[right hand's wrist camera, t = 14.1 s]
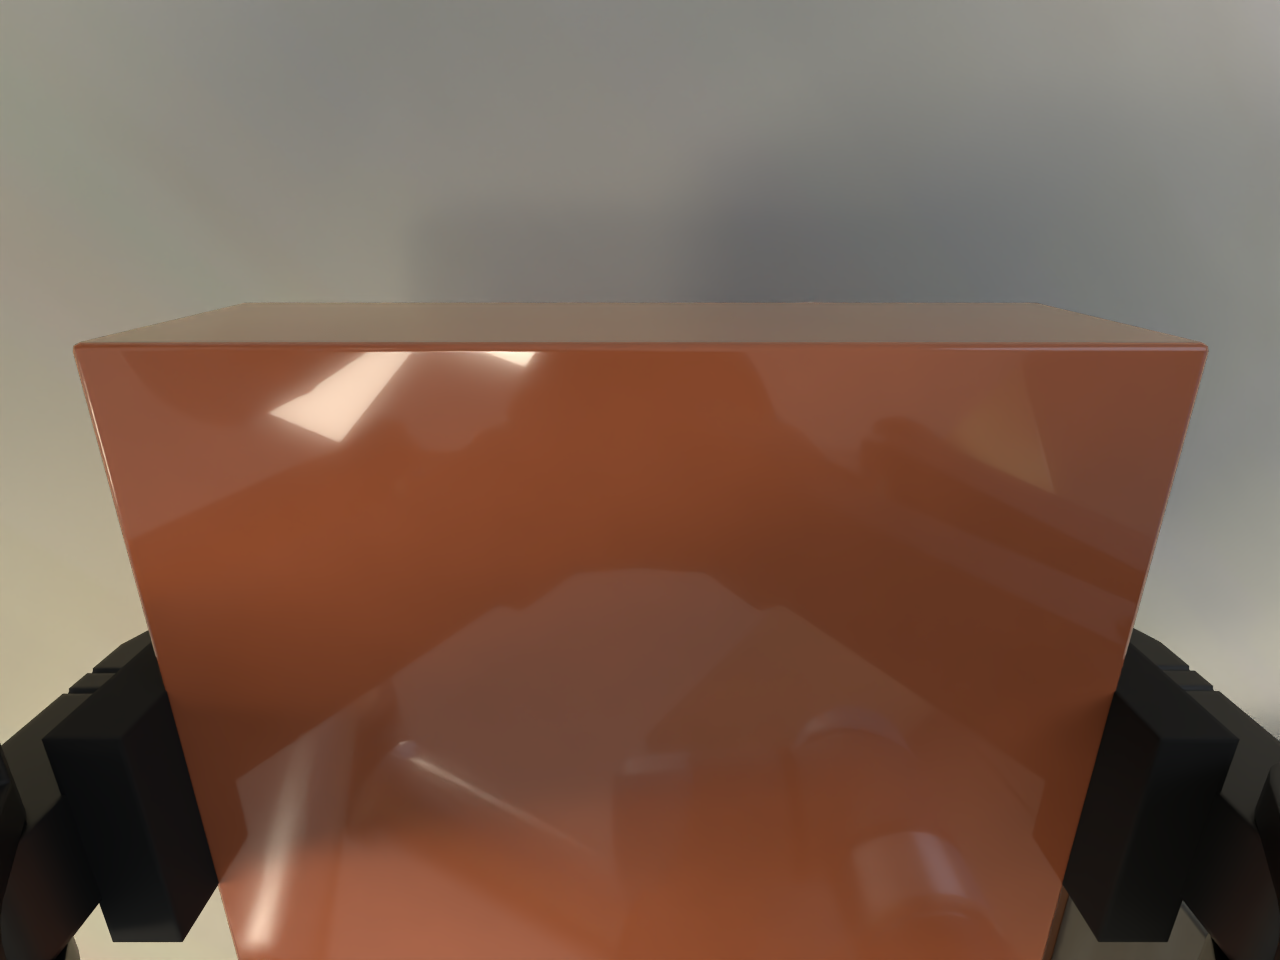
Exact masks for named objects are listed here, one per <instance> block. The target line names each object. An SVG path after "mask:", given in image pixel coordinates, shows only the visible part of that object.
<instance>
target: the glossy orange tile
mask: <svg viewBox="0 0 1280 960" xmlns="http://www.w3.org/2000/svg"><path fill="white" fill-rule="evenodd" d="M1208 352H1209V350H1208V346H1207V345H1206V344H1204V343H1202V342H1199V341H1194V340H1190V339H1186V338H1182V337H1178V336H1173V335H1169V334H1165V333H1161V332H1157V331H1152V330H1148V329H1144V328H1140V327H1136V326H1131V325H1127V324H1123V323H1119V322H1115V321H1110V320H1106V319H1102V318H1098V317H1094V316H1089V315H1085V314H1081V313H1077V312H1072V311H1068V310H1064V309H1060V308H1056V307H1051V306H1047V305H1043V304H1039V303H242V304H238V305H233V306H229V307H225V308H221V309H217V310H212V311H208V312H204V313H200V314H196V315H191V316H187V317H183V318H179V319H175V320H170V321H166V322H162V323H158V324H154V325H149V326H145V327H141V328H137V329H133V330H128V331H124V332H120V333H116V334H112V335H107V336H103V337H99V338H95V339H91V340H86V341H82V342H79V343H77V344H75V345H74V346H73V354H74V358H75V361H76V365H77V369H78V372H79V376H80V380H81V383H82V387H83V391H84V394H85V398H86V402H87V405H88V409H89V413H90V416H91V420H92V424H93V428H94V431H95V435H96V439H97V442H98V446H99V450H100V453H101V457H102V461H103V464H104V468H105V472H106V475H107V479H108V483H109V486H110V490H111V494H112V497H113V501H114V505H115V508H116V512H117V516H118V520H119V523H120V527H121V531H122V534H123V538H124V542H125V545H126V549H127V553H128V556H129V560H130V564H131V567H132V571H133V575H134V578H135V582H136V586H137V589H138V593H139V597H140V601H141V604H142V608H143V612H144V615H145V619H146V623H147V626H148V630H149V634H150V637H151V641H152V645H153V648H154V652H155V656H156V659H157V663H158V667H159V670H160V674H161V678H162V681H163V685H164V689H165V691H167V694H168V698H169V701H170V705H171V709H172V713H173V716H174V720H175V724H176V727H177V731H178V735H179V738H180V742H181V746H182V749H183V753H184V757H185V761H186V764H187V768H188V772H189V775H190V779H191V783H192V786H193V790H194V794H195V797H196V801H197V805H198V809H199V812H200V816H201V820H202V823H203V827H204V831H205V834H206V838H207V842H208V845H209V849H210V853H211V857H212V860H213V864H214V868H215V871H216V875H217V879H218V882H219V884H218V888H219V891H220V895H221V899H222V902H223V906H224V910H225V913H226V917H227V921H228V924H229V928H230V932H231V935H232V939H233V943H234V946H235V950H236V954H237V958H238V960H1043V957H1044V954H1045V950H1046V946H1047V943H1048V939H1049V935H1050V932H1051V928H1052V924H1053V921H1054V917H1055V913H1056V910H1057V906H1058V902H1059V899H1060V895H1061V891H1062V888H1063V884H1062V882H1063V879H1064V875H1065V871H1066V868H1067V864H1068V860H1069V857H1070V853H1071V849H1072V846H1073V842H1074V838H1075V835H1076V831H1077V827H1078V824H1079V820H1080V816H1081V812H1082V809H1083V805H1084V801H1085V798H1086V794H1087V790H1088V787H1089V783H1090V779H1091V776H1092V772H1093V768H1094V765H1095V761H1096V757H1097V754H1098V750H1099V746H1100V743H1101V739H1102V735H1103V731H1104V728H1105V724H1106V720H1107V717H1108V713H1109V709H1110V706H1111V702H1112V698H1113V695H1114V692H1115V691H1116V690H1117V686H1118V682H1119V679H1120V675H1121V671H1122V668H1123V664H1124V660H1125V657H1126V653H1127V649H1128V645H1129V642H1130V638H1131V634H1132V631H1133V627H1134V623H1135V620H1136V616H1137V612H1138V609H1139V605H1140V601H1141V598H1142V594H1143V590H1144V587H1145V583H1146V579H1147V576H1148V572H1149V568H1150V565H1151V561H1152V557H1153V554H1154V550H1155V546H1156V543H1157V539H1158V535H1159V532H1160V528H1161V524H1162V521H1163V517H1164V513H1165V510H1166V506H1167V502H1168V499H1169V495H1170V491H1171V488H1172V484H1173V480H1174V477H1175V473H1176V469H1177V466H1178V462H1179V458H1180V455H1181V451H1182V447H1183V444H1184V440H1185V436H1186V433H1187V429H1188V425H1189V422H1190V418H1191V414H1192V411H1193V407H1194V403H1195V400H1196V396H1197V392H1198V389H1199V385H1200V381H1201V378H1202V374H1203V370H1204V367H1205V363H1206V359H1207V356H1208Z"/></svg>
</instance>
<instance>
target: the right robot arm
mask: <svg viewBox="0 0 1280 960" xmlns="http://www.w3.org/2000/svg"><path fill="white" fill-rule="evenodd" d="M218 884H219V882H218V879H217V875H216V871H215V868H214V864H213V860H212V857H211V853H210V849H209V845H208V842H207V838H206V834H205V831H204V827H203V823H202V820H201V816H200V812H199V809H198V805H197V801H196V797H195V794H194V790H193V786H192V783H191V779H190V775H189V772H188V768H187V764H186V761H185V757H184V753H183V749H182V746H181V742H180V738H179V735H178V731H177V727H176V724H175V720H174V716H173V713H172V709H171V705H170V701H169V698H168V694H167V691H165V689H164V685H163V681H162V678H161V674H160V670H159V667H158V663H157V659H156V656H155V652H154V648H153V645H152V641H151V637H150V634H149V630H148V631H146V632H144V633H142V634H140V635H139V636H137V637H135V638H133V639H131V640H129V641H127V642H125V643H123V644H122V645H120V646H119V647H118V648H117V649H115V650H114V651H113V652H112V653H111V654H110V655H108V656H107V657H106V658H105V659H104V660H102V661H101V662H100V663H99V664H98V665H96V666H95V667H94V668H93V672H92V673H87V674H86V675H85V676H83V677H82V678H81V679H80V680H79V681H77V682H76V683H75V684H74V685H73V686H72V687H70V688H69V693H68V694H62V695H61V696H60V697H58V698H57V699H56V700H55V701H54V702H53V703H51V704H50V705H49V706H48V707H47V708H45V709H44V710H43V711H42V712H41V713H40V714H38V715H37V716H36V717H35V718H34V719H32V720H31V721H30V722H29V723H28V724H26V725H25V726H24V727H23V728H22V729H21V730H19V731H18V732H17V733H16V734H15V735H13V736H12V737H11V738H10V739H9V740H7V741H6V742H5V743H4V744H3V745H2V746H1V744H0V960H80V956H79V950H78V947H77V945H76V942H75V939H74V937H73V936H74V935H75V933H76V932H77V931H78V929H79V928H80V927H81V926H82V924H83V923H84V922H85V920H86V919H87V918H88V917H89V915H90V914H91V913H92V911H93V910H94V909H95V908H96V906H97V905H98V904H100V906H101V909H102V912H103V915H104V918H105V920H106V923H107V926H108V929H109V932H110V935H111V937H112V940H113V942H183V940H184V939H185V937H186V936H187V934H188V932H189V931H190V929H191V927H192V926H193V924H194V923H195V921H196V919H197V918H198V916H199V915H200V913H201V911H202V910H203V908H204V907H205V905H206V903H207V902H208V900H209V899H210V897H211V895H212V894H213V892H214V891H215V889H216V887H217V886H218ZM1062 884H1063V886H1064V888H1065V889H1066V891H1067V892H1068V894H1069V896H1070V897H1071V899H1072V901H1073V902H1074V904H1075V905H1076V907H1077V909H1078V910H1079V912H1080V913H1081V915H1082V917H1083V918H1084V920H1085V921H1086V923H1087V925H1088V926H1089V928H1090V929H1091V931H1092V933H1093V934H1094V936H1095V937H1096V939H1097V941H1098V942H1168V940H1169V937H1170V935H1171V932H1172V929H1173V926H1174V923H1175V921H1176V918H1177V915H1178V912H1179V909H1180V906H1181V904H1182V901H1184V902H1185V904H1186V905H1187V906H1188V908H1189V909H1190V910H1191V911H1192V913H1193V914H1194V915H1195V916H1196V918H1197V919H1198V920H1199V922H1200V923H1201V924H1202V925H1203V927H1204V928H1205V929H1206V931H1207V932H1208V934H1207V937H1206V939H1205V942H1204V945H1203V947H1202V950H1201V952H1200V955H1199V958H1198V960H1280V742H1279V741H1278V740H1277V739H1276V738H1275V737H1273V736H1272V735H1271V734H1270V733H1269V732H1267V731H1266V730H1265V729H1264V728H1263V727H1261V726H1260V725H1259V724H1258V723H1257V722H1255V721H1254V720H1253V719H1252V718H1251V717H1249V716H1248V715H1247V714H1246V713H1245V712H1243V711H1242V710H1241V709H1240V708H1239V707H1237V706H1236V705H1235V704H1234V703H1233V702H1231V701H1230V700H1229V699H1228V698H1227V697H1225V696H1224V695H1223V694H1222V693H1221V692H1220V691H1214V690H1213V686H1212V685H1211V684H1210V683H1209V682H1208V681H1206V680H1205V679H1204V678H1203V677H1202V676H1200V675H1199V674H1198V673H1197V672H1196V671H1190V670H1189V666H1188V665H1187V664H1186V663H1185V662H1184V661H1182V660H1181V659H1180V658H1179V657H1178V656H1176V655H1175V654H1174V653H1173V652H1172V651H1170V650H1169V649H1168V648H1167V647H1166V646H1165V645H1163V644H1162V643H1161V642H1159V641H1157V640H1155V639H1153V638H1152V637H1150V636H1148V635H1146V634H1144V633H1142V632H1140V631H1138V630H1136V629H1134V628H1133V631H1132V634H1131V638H1130V642H1129V645H1128V649H1127V653H1126V657H1125V660H1124V664H1123V668H1122V671H1121V675H1120V679H1119V682H1118V686H1117V690H1116V691H1115V692H1114V695H1113V698H1112V702H1111V706H1110V709H1109V713H1108V717H1107V720H1106V724H1105V728H1104V731H1103V735H1102V739H1101V743H1100V746H1099V750H1098V754H1097V757H1096V761H1095V765H1094V768H1093V772H1092V776H1091V779H1090V783H1089V787H1088V790H1087V794H1086V798H1085V801H1084V805H1083V809H1082V812H1081V816H1080V820H1079V824H1078V827H1077V831H1076V835H1075V838H1074V842H1073V846H1072V849H1071V853H1070V857H1069V860H1068V864H1067V868H1066V871H1065V875H1064V879H1063V882H1062Z"/></svg>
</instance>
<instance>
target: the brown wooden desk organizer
mask: <svg viewBox="0 0 1280 960" xmlns="http://www.w3.org/2000/svg"><path fill="white" fill-rule="evenodd" d="M1207 934H1208V932H1207V931H1206V929H1205V928H1204V927H1203V925H1202V924H1201V923H1200V922H1199V920H1198V919H1197V918H1196V916H1195V915H1194V914H1193V913H1192V911H1191V910H1190V909H1189V908H1188V906H1187V905H1186V904H1185V902H1184V901H1182V904H1181V906H1180V909H1179V912H1178V915H1177V918H1176V921H1175V923H1174V926H1173V929H1172V932H1171V935H1170V937H1169V940H1168V942H1098V941H1097V939H1096V937H1095V936H1094V934H1093V933H1092V931H1091V929H1090V928H1089V926H1088V925H1087V923H1086V921H1085V920H1084V918H1083V917H1082V915H1081V913H1080V912H1079V910H1078V909H1077V907H1076V905H1075V904H1074V902H1073V901H1072V899H1071V897H1070V896H1069V894H1068V892H1067V891H1066V889H1065V888H1064V886H1063V888H1062V891H1061V895H1060V899H1059V902H1058V906H1057V910H1056V913H1055V917H1054V921H1053V924H1052V928H1051V932H1050V935H1049V939H1048V943H1047V946H1046V950H1045V954H1044V957H1043V960H1198V958H1199V955H1200V952H1201V950H1202V947H1203V945H1204V942H1205V939H1206V937H1207Z"/></svg>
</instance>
